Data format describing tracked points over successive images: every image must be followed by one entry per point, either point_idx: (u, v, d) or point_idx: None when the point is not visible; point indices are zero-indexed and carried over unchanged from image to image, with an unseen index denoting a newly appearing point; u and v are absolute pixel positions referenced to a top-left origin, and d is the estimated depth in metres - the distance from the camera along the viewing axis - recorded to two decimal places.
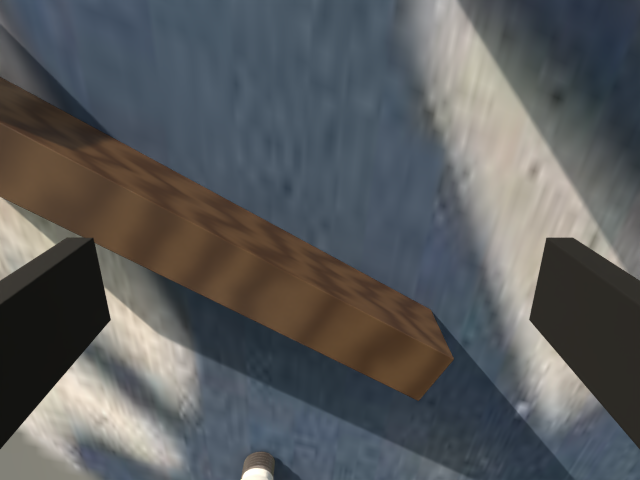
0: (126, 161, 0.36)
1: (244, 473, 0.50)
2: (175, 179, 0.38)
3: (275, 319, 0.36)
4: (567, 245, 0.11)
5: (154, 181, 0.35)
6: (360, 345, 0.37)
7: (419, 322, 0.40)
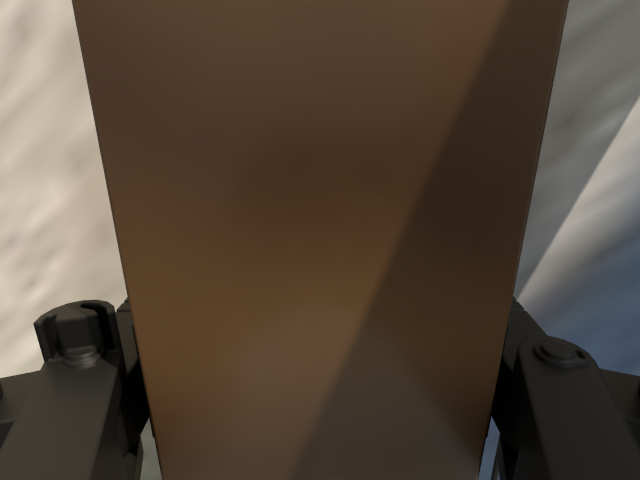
0: None
1: None
2: None
3: None
4: None
5: None
6: None
7: None
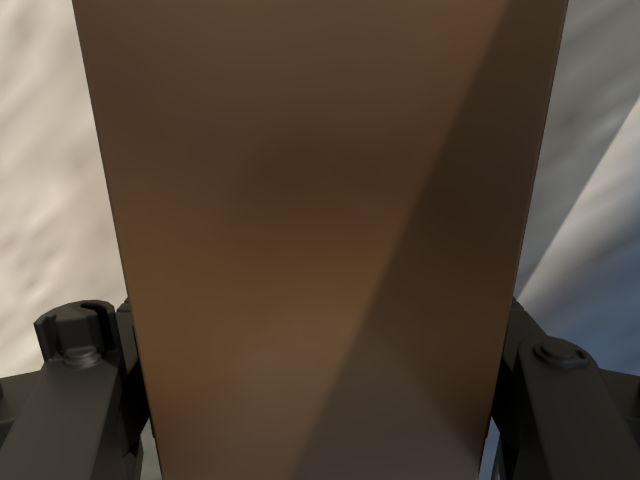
0: None
1: None
2: None
3: None
4: None
5: None
6: None
7: None
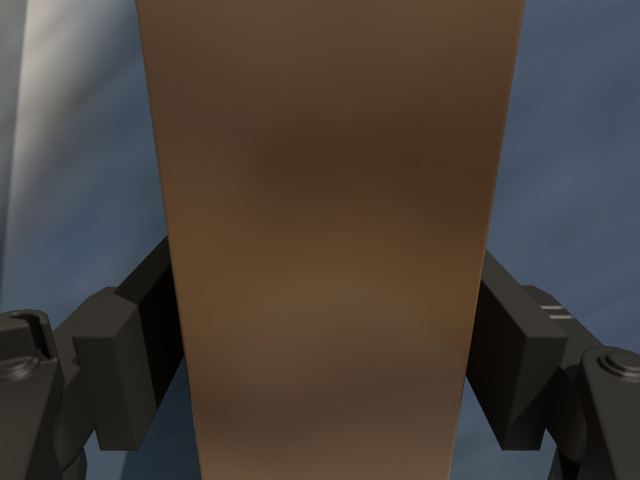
0: None
1: None
2: None
3: None
4: None
5: None
6: None
7: None
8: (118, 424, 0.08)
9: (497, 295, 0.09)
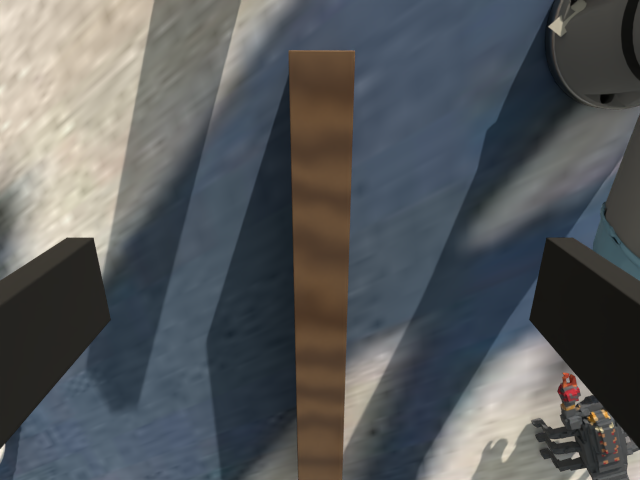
0: None
1: None
2: None
3: (306, 441, 0.50)
4: (567, 245, 0.11)
5: None
6: None
7: None
8: None
9: None
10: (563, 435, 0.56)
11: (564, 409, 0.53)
